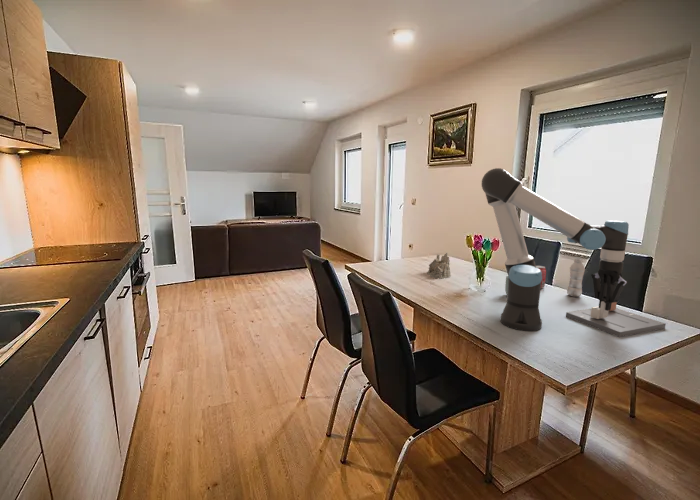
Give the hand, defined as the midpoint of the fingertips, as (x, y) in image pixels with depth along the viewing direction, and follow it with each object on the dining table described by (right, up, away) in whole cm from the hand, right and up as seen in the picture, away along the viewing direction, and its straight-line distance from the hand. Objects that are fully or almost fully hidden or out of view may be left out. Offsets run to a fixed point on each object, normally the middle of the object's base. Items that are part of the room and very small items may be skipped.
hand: (603, 316), depth 139 cm
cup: (-19, +3, +37) cm, 42 cm away
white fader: (-1, -1, +2) cm, 2 cm away
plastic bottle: (+13, +3, +38) cm, 40 cm away
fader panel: (+7, -3, +3) cm, 8 cm away
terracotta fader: (+11, +1, +12) cm, 16 cm away
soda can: (+2, +6, +53) cm, 53 cm away
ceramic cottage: (-47, +11, +80) cm, 93 cm away
